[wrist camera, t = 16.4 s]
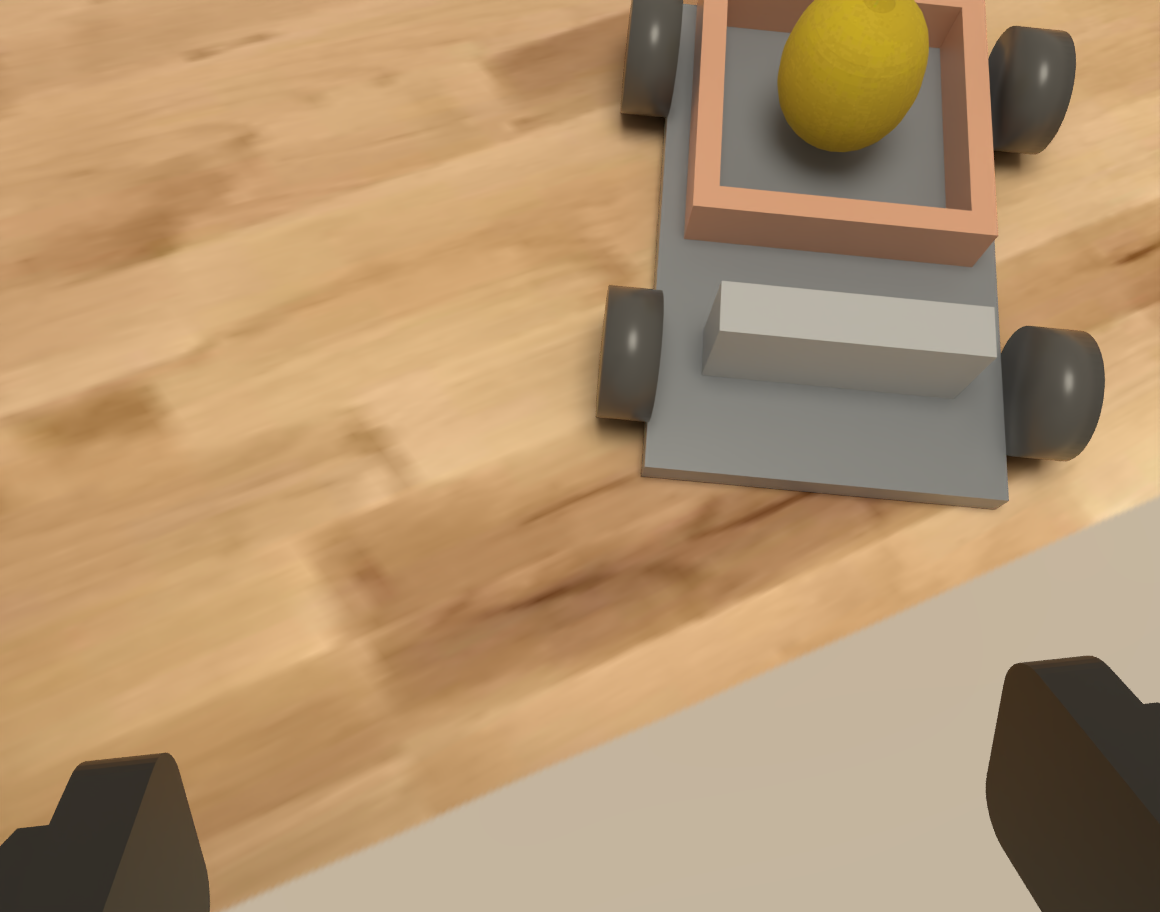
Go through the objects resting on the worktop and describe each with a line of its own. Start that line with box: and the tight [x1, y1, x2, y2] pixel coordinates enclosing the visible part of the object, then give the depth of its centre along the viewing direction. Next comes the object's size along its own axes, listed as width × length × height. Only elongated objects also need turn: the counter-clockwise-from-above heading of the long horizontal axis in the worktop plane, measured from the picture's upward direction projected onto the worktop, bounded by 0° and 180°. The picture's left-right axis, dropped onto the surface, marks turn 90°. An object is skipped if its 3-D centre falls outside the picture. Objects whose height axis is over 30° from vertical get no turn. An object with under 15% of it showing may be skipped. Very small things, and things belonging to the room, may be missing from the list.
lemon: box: [777, 0, 929, 152], centre depth 41 cm, size 6×6×8 cm
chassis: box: [596, 0, 1105, 509], centre depth 42 cm, size 18×22×5 cm
